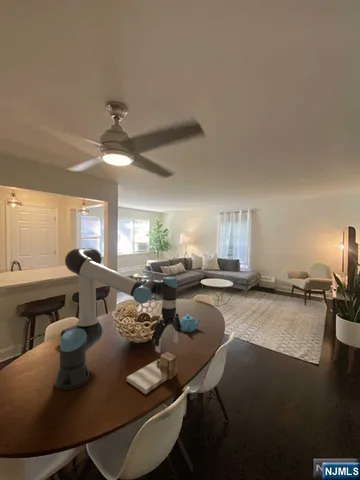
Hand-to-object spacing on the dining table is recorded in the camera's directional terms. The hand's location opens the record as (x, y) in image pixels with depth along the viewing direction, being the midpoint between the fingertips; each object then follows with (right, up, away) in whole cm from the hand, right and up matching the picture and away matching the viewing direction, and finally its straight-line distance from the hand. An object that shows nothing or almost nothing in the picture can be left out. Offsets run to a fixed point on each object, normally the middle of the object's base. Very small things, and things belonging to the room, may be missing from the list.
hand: (166, 347), depth 118 cm
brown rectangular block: (-1, -14, +1) cm, 14 cm away
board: (-7, -14, -2) cm, 16 cm away
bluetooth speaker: (-62, -12, +37) cm, 73 cm away
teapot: (+13, -14, +58) cm, 61 cm away
